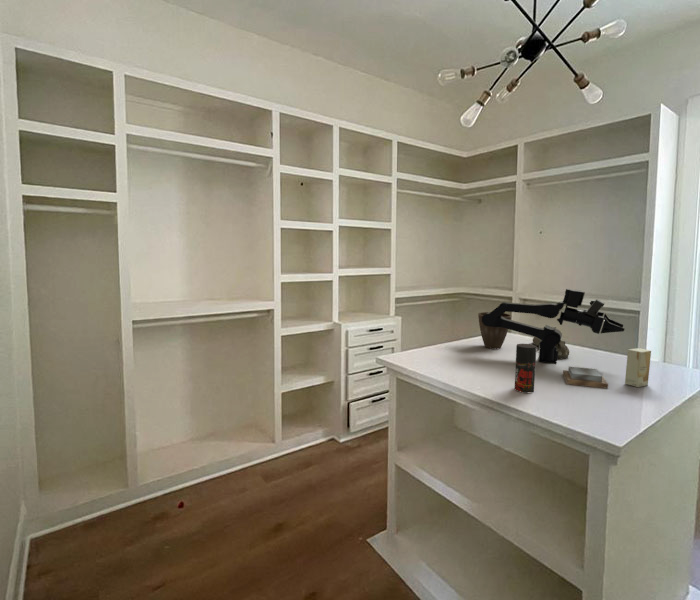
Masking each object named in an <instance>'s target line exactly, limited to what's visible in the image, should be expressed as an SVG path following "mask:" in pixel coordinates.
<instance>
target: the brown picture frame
mask: <svg viewBox="0 0 700 600" xmlns="http://www.w3.org/2000/svg"><path fill="white" fill-rule="evenodd" d="M562 374H563V377H564V380H565V382H566V385H572V384H573V385H574V386H575V385H576V386H582V385H584V387H590V388H591V387H593V388H602V389H608V388H609V383H608V382H607V381H606V379H605V378H604V377H603V375H602V374H601V372H600V371H599V369H597V368H589V367H588V368H587V367H578V366H577V367H576V366H568V370H562Z"/></svg>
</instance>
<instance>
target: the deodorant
mask: <svg viewBox="0 0 700 600" xmlns="http://www.w3.org/2000/svg"><path fill="white" fill-rule="evenodd" d="M515 349H516V350H515V351H516V352H515V370H514V371H515V372H514V390H515V389H516V390H518V391H521V392H520V393H522V392H533V393H534V392H535V383H536V382H535V380H536V377H535V376H536V361H537V360H536V359H537V358H536V357H537V346H535V345H534V344H532V343H531V344H530V343H517V344H516V348H515ZM516 390H515V391H516ZM518 391H517V392H518Z"/></svg>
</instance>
